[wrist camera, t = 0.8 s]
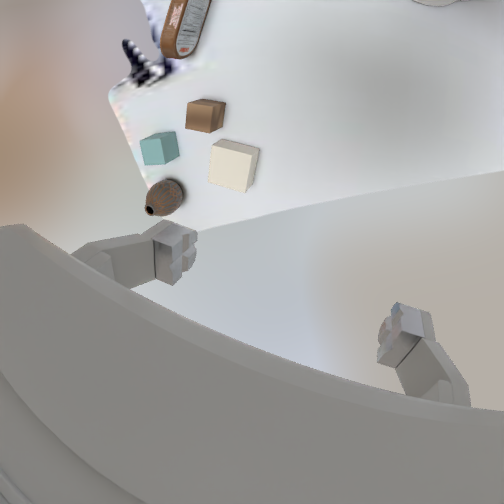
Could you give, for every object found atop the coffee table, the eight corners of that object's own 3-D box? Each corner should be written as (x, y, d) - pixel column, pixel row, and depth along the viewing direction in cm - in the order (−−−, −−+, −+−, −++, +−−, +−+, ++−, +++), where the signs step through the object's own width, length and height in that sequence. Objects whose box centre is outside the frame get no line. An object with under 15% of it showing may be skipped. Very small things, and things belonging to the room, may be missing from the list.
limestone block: (221, 139, 45) (211, 145, 42) (259, 148, 44) (252, 155, 41) (217, 173, 50) (207, 182, 47) (252, 184, 49) (244, 193, 46)
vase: (172, 209, 59) (149, 230, 52) (155, 184, 56) (129, 202, 49) (193, 197, 55) (170, 218, 48) (175, 169, 52) (149, 188, 46)
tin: (203, -16, 27) (176, -27, 21) (220, -15, 27) (195, -27, 21) (181, 57, 37) (152, 58, 31) (196, 60, 37) (168, 61, 31)
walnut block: (202, 98, 42) (187, 102, 38) (225, 102, 41) (212, 106, 37) (199, 122, 44) (185, 128, 41) (222, 126, 44) (209, 133, 40)
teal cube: (155, 133, 48) (139, 141, 45) (175, 131, 47) (160, 138, 43) (159, 156, 51) (144, 165, 48) (179, 155, 50) (165, 164, 46)
